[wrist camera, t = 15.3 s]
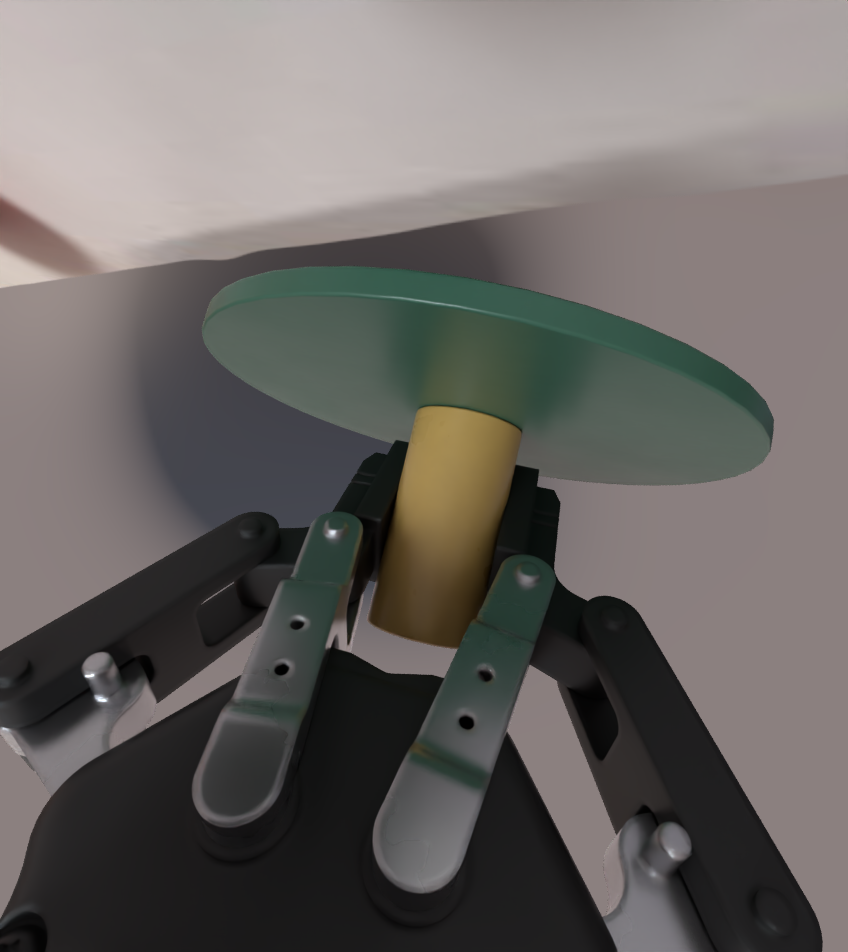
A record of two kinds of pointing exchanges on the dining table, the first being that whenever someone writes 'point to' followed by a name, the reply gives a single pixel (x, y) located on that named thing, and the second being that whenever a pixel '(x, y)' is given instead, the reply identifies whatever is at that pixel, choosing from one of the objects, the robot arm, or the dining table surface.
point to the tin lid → (479, 408)
